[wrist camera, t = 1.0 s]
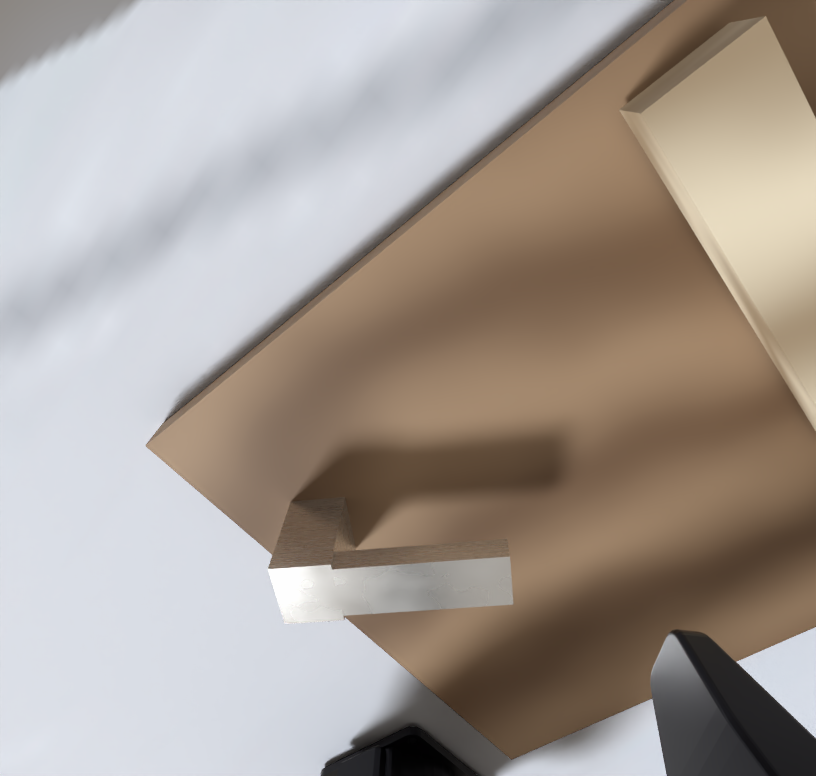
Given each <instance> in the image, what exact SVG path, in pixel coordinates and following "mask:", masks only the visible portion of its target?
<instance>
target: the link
mask: <svg viewBox="0 0 816 776" xmlns="http://www.w3.org/2000/svg"><path fill="white" fill-rule="evenodd" d="M619 111H620V112H621V114H622V115H623V117H624V119H625V120H626V122H627V124H628V125H629V127H630V129H631V130H632V132H633V133H634V135H635V137H636V138H637V140H638V142H639V143H640V145H641V147H642V148H643V150H644V151H645V153H646V155H647V156H648V158H649V160H650V161H651V163H652V164H653V166H654V168H655V169H656V171H657V173H658V174H659V176H660V178H661V179H662V181H663V182H664V184H665V186H666V187H667V189H668V191H669V192H670V194H671V196H672V197H673V199H674V200H675V202H676V204H677V205H678V207H679V209H680V210H681V212H682V214H683V215H684V217H685V218H686V220H687V222H688V223H689V225H690V227H691V228H692V230H693V232H694V233H695V235H696V236H697V238H698V240H699V241H700V243H701V245H702V246H703V248H704V250H705V251H706V253H707V254H708V256H709V258H710V259H711V261H712V263H713V264H714V266H715V268H716V269H717V271H718V272H719V274H720V276H721V277H722V279H723V281H724V282H725V284H726V286H727V287H728V289H729V290H730V292H731V294H732V295H733V297H734V299H735V300H736V302H737V303H738V305H739V307H740V308H741V310H742V312H743V313H744V315H745V317H746V318H747V320H748V321H749V323H750V325H751V326H752V328H753V330H754V331H755V333H756V335H757V336H758V338H759V339H760V341H761V343H762V344H763V346H764V348H765V349H766V351H767V353H768V354H769V356H770V357H771V359H772V361H773V362H774V364H775V366H776V367H777V369H778V371H779V372H780V374H781V375H782V377H783V379H784V380H785V382H786V384H787V385H788V387H789V389H790V390H791V392H792V393H793V395H794V397H795V398H796V400H797V402H798V403H799V405H800V407H801V408H802V410H803V411H804V413H805V415H806V416H807V418H808V420H809V421H810V423H811V425H812V426H813V428H814V429H815V431H816V118H815V116H814V114H813V112H812V110H811V108H810V106H809V103H808V101H807V99H806V97H805V95H804V93H803V91H802V89H801V87H800V85H799V83H798V81H797V79H796V77H795V75H794V73H793V71H792V69H791V67H790V65H789V62H788V60H787V58H786V56H785V54H784V52H783V50H782V48H781V46H780V44H779V42H778V40H777V38H776V36H775V34H774V32H773V30H772V28H771V26H770V24H769V22H768V19H767V17H766V16H763V17H758V18H752V19H747V20H741V21H736V22H731V23H728V24H727V25H726V26H725V27H723V28H722V29H721V30H719V31H718V32H717V33H716V34H714V35H713V36H712V37H711V38H709V39H708V40H707V41H706V42H704V43H703V44H702V45H700V46H699V47H698V48H697V49H695V50H694V51H693V52H692V53H690V54H689V55H688V56H687V57H685V58H684V59H683V60H681V61H680V62H679V63H678V64H676V65H675V66H674V67H673V68H671V69H670V70H669V71H668V72H666V73H665V74H664V75H663V76H661V77H660V78H659V79H657V80H656V81H655V82H654V83H652V84H651V85H650V86H649V87H647V88H646V89H645V90H644V91H642V92H641V93H640V94H638V95H637V96H636V97H635V98H633V99H632V100H631V101H630V102H628V103H627V104H626V105H625V106H623V107H622V108H621V109H619Z"/></svg>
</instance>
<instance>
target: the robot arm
mask: <svg viewBox="0 0 816 776" xmlns="http://www.w3.org/2000/svg"><path fill="white" fill-rule="evenodd" d="M650 686H651V693H652V698H653V704H654V709H655V715H656V720H657V725H658V731H659V736H660V742H661V747H662V752H663V758H664V763H665V768H666V774H667V776H816V738H815V737H814V736H813V735H812V734H811V733H810V732H809V731H808V730H807V729H805V728H804V727H803V726H802V725H801V724H800V723H799V722H798V721H797V720H796V719H795V718H794V717H793V716H792V715H791V714H790V713H789V712H788V711H787V710H786V709H785V708H784V707H782V706H781V705H780V704H779V703H778V702H777V701H776V700H775V699H774V698H773V697H772V696H771V695H770V694H769V693H768V692H767V691H766V690H765V689H764V688H763V687H762V686H761V685H759V684H758V683H757V682H756V681H755V680H754V679H753V678H752V677H751V676H750V675H749V674H748V673H747V672H746V671H745V670H744V669H743V668H742V667H741V666H740V665H739V664H738V663H736V662H735V661H734V660H733V659H732V658H731V657H730V656H729V655H728V654H727V653H726V652H725V651H724V650H723V649H722V648H721V647H720V646H719V645H718V644H717V643H716V642H715V641H713V640H712V639H711V638H710V637H709V636H708V635H706V634H705V633H702V632H698V631H689V630H680V629H674V630H672V631H671V632H669V633H668V635H667V637H666V639H665V641H664V643H663V646H662V648H661V650H660V652H659V654H658V657H657V659H656V661H655V663H654V666H653V668H652V671H651V677H650ZM321 776H478V775H476V774H475V773H474V772H473V771H471V770H470V769H469V768H468V767H467V766H465V765H464V764H463V763H462V762H460V761H459V760H458V759H457V758H456V757H454V756H453V755H452V754H451V753H449V752H448V751H447V750H446V749H445V748H443V747H442V746H441V745H440V744H438V743H437V742H436V741H435V740H434V739H432V738H431V737H430V736H429V735H427V734H426V733H425V732H424V731H423V730H421V729H420V728H418V727H407V728H405V729H403V730H401V731H399V732H397V733H395V734H393V735H391V736H389V737H387V738H385V739H382V740H380V741H378V742H376V743H374V744H372V745H370V746H368V747H366V748H364V749H362V750H360V751H358V752H356V753H354V754H352V755H350V756H348V757H346V758H344V759H342V760H340V761H337V762H335V763H333V764H331V765H329V766H327V767H325V768H324V769H322V771H321Z"/></svg>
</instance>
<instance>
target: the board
mask: <svg viewBox="0 0 816 776" xmlns="http://www.w3.org/2000/svg"><path fill="white" fill-rule="evenodd" d="M763 16H766V17H767V19H768V22H769V24H770V26H771V28H772V30H773V32H774V34H775V36H776V38H777V40H778V42H779V44H780V46H781V48H782V50H783V52H784V54H785V56H786V58H787V60H788V62H789V65H790V67H791V69H792V71H793V73H794V75H795V77H796V79H797V81H798V83H799V85H800V87H801V89H802V91H803V93H804V95H805V97H806V99H807V101H808V103H809V106H810V108H811V110H812V112H813V114H814V116H815V118H816V0H674V1H672V2H671V3H670V4H669V5H668V6H666V7H665V8H664V9H663V10H662V11H660V12H659V13H658V14H657V15H656V16H654V17H653V18H652V19H651V20H650V21H648V22H647V23H646V24H645V25H643V26H642V27H641V28H640V29H639V30H637V31H636V32H635V33H634V34H633V35H631V36H630V37H629V38H628V39H627V40H625V41H624V42H623V43H622V44H621V45H619V46H618V47H617V48H616V49H614V50H613V51H612V52H611V53H610V54H608V55H607V56H606V57H605V58H604V59H602V60H601V61H600V62H599V63H598V64H596V65H595V66H594V67H593V68H592V69H590V70H589V71H588V72H587V73H585V74H584V75H583V76H582V77H581V78H579V79H578V80H577V81H576V82H575V83H573V84H572V85H571V86H570V87H569V88H567V89H566V90H565V91H564V92H563V93H561V94H560V95H559V96H558V97H557V98H555V99H554V100H553V101H552V102H550V103H549V104H548V105H547V106H546V107H544V108H543V109H542V110H541V111H540V112H538V113H537V114H536V115H535V116H534V117H532V118H531V119H530V120H529V121H528V122H526V123H525V124H524V125H523V126H521V127H520V128H519V129H518V130H517V131H515V132H514V133H513V134H512V135H511V136H509V137H508V138H507V139H506V140H505V141H503V142H502V143H501V144H500V145H499V146H497V147H496V148H495V149H494V150H493V151H491V152H490V153H489V154H488V155H486V156H485V157H484V158H483V159H482V160H480V161H479V162H478V163H477V164H476V165H474V166H473V167H472V168H471V169H470V170H468V171H467V172H466V173H465V174H464V175H462V176H461V177H460V178H459V179H457V180H456V181H455V182H454V183H453V184H451V185H450V186H449V187H448V188H447V189H445V190H444V191H443V192H442V193H441V194H439V195H438V196H437V197H436V198H435V199H433V200H432V201H431V202H430V203H429V204H427V205H426V206H425V207H424V208H422V209H421V210H420V211H419V212H418V213H416V214H415V215H414V216H413V217H412V218H410V219H409V220H408V221H407V222H406V223H404V224H403V225H402V226H401V227H400V228H398V229H397V230H396V231H395V232H393V233H392V234H391V235H390V236H389V237H387V238H386V239H385V240H384V241H383V242H381V243H380V244H379V245H378V246H377V247H375V248H374V249H373V250H372V251H371V252H369V253H368V254H367V255H366V256H365V257H363V258H362V259H361V260H360V261H358V262H357V263H356V264H355V265H354V266H352V267H351V268H350V269H349V270H348V271H346V272H345V273H344V274H343V275H342V276H340V277H339V278H338V279H337V280H336V281H334V282H333V283H332V284H331V285H329V286H328V287H327V288H326V289H325V290H323V291H322V292H321V293H320V294H319V295H317V296H316V297H315V298H314V299H313V300H311V301H310V302H309V303H308V304H307V305H305V306H304V307H303V308H302V309H300V310H299V311H298V312H297V313H296V314H294V315H293V316H292V317H291V318H290V319H288V320H287V321H286V322H285V323H284V324H282V325H281V326H280V327H279V328H278V329H276V330H275V331H274V332H273V333H272V334H270V335H269V336H268V337H267V338H265V339H264V340H263V341H262V342H261V343H259V344H258V345H257V346H256V347H255V348H253V349H252V350H251V351H250V352H249V353H247V354H246V355H245V356H244V357H243V358H241V359H240V360H239V361H238V362H236V363H235V364H234V365H233V366H232V367H230V368H229V369H228V370H227V371H226V372H224V373H223V374H222V375H221V376H220V377H218V378H217V379H216V380H215V381H214V382H212V383H211V384H210V385H209V386H208V387H206V388H205V389H204V390H203V391H201V392H200V393H199V394H198V395H197V396H195V397H194V398H193V399H192V400H191V401H189V402H188V403H187V404H186V405H185V406H183V407H182V408H181V409H180V410H179V411H177V412H176V413H175V414H174V415H172V416H171V417H170V418H169V419H168V420H166V421H165V422H164V423H163V424H162V425H161V426H160V428H159V429H158V430H157V431H156V433H155V434H154V435H153V437H152V438H151V439H150V440H149V442H148V443H147V444H146V447H147V448H148V449H150V450H151V451H152V452H153V453H154V454H155V455H157V456H158V457H159V458H160V459H161V460H162V461H164V462H165V463H166V464H167V465H168V466H169V467H171V468H172V469H173V470H174V471H175V472H176V473H178V474H179V475H180V476H181V477H182V478H183V479H185V480H186V481H187V482H188V483H189V484H190V485H192V486H193V487H194V488H195V489H196V490H197V491H199V492H200V493H201V494H202V495H203V496H204V497H206V498H207V499H208V500H209V501H210V502H211V503H213V504H214V505H215V506H216V507H217V508H218V509H220V510H221V511H222V512H223V513H224V514H225V515H227V516H228V517H229V518H230V519H231V520H232V521H234V522H235V523H236V524H237V525H238V526H239V527H241V528H242V529H243V530H244V531H245V532H246V533H248V534H249V535H250V536H251V537H252V538H253V539H255V540H256V541H257V542H258V543H259V544H260V545H262V546H263V547H264V548H265V549H266V550H267V551H269V552H270V553H271V554H272V555H273V553H274V550H275V547H276V544H277V541H278V538H279V535H280V532H281V529H282V526H283V523H284V520H285V517H286V514H287V511H288V508H289V505H290V502H292V501H304V500H316V499H328V498H340V497H345V500H346V505H347V509H348V514H349V519H350V523H351V528H352V532H353V537H354V541H355V546H356V550H364V549H377V548H391V547H404V546H417V545H430V544H444V543H457V542H470V541H483V540H496V539H507V541H508V547H509V553H510V563H511V577H512V591H513V605H499V606H484V607H469V608H454V609H439V610H423V611H408V612H393V613H378V614H362V615H347V616H345V617H346V618H347V619H348V620H349V621H350V622H351V623H353V624H354V625H355V626H356V627H357V628H358V629H360V630H361V631H362V632H363V633H364V634H365V635H367V636H368V637H369V638H370V639H371V640H372V641H374V642H375V643H376V644H377V645H378V646H379V647H381V648H382V649H383V650H384V651H385V652H386V653H388V654H389V655H390V656H391V657H392V658H393V659H395V660H396V661H397V662H398V663H399V664H400V665H402V666H403V667H404V668H405V669H406V670H407V671H409V672H410V673H411V674H412V675H413V676H414V677H416V678H417V679H418V680H419V681H420V682H421V683H423V684H424V685H425V686H426V687H427V688H428V689H430V690H431V691H432V692H433V693H434V694H435V695H437V696H438V697H439V698H440V699H441V700H442V701H444V702H445V703H446V704H447V705H448V706H449V707H451V708H452V709H453V710H454V711H455V712H456V713H458V714H459V715H460V716H461V717H462V718H463V719H465V720H466V721H467V722H468V723H469V724H470V725H472V726H473V727H474V728H475V729H476V730H477V731H479V732H480V733H481V734H482V735H483V736H484V737H486V738H487V739H488V740H489V741H490V742H491V743H493V744H494V745H495V746H496V747H497V748H498V749H500V750H501V751H502V752H503V753H504V754H505V755H507V756H508V757H509V758H510V759H511V760H512V759H514V758H517V757H519V756H521V755H523V754H526V753H528V752H530V751H533V750H535V749H537V748H539V747H542V746H544V745H546V744H549V743H551V742H553V741H556V740H558V739H560V738H562V737H565V736H567V735H569V734H572V733H574V732H576V731H578V730H581V729H583V728H585V727H588V726H590V725H592V724H594V723H597V722H599V721H601V720H604V719H606V718H608V717H610V716H613V715H615V714H617V713H620V712H622V711H624V710H627V709H629V708H631V707H633V706H636V705H638V704H640V703H643V702H645V701H647V700H649V699H652V693H651V686H650V677H651V671H652V668H653V666H654V663H655V661H656V659H657V657H658V654H659V652H660V650H661V648H662V646H663V643H664V641H665V639H666V637H667V635H668V633H669V632H671V631H672V630H674V629H680V630H689V631H698V632H702V633H705V634H706V635H708V636H709V637H710V638H711V639H712V640H713V641H715V642H716V643H717V644H718V645H719V646H720V647H721V648H722V649H723V650H724V651H725V652H726V653H727V654H728V655H729V656H730V657H731V658H732V659H733V660H734V661H735V662H736V661H739V660H741V659H743V658H746V657H748V656H750V655H752V654H755V653H757V652H759V651H762V650H764V649H766V648H769V647H771V646H773V645H775V644H778V643H780V642H782V641H785V640H787V639H789V638H791V637H794V636H796V635H798V634H801V633H803V632H805V631H807V630H810V629H812V628H814V627H816V431H815V429H814V428H813V426H812V425H811V423H810V421H809V420H808V418H807V416H806V415H805V413H804V411H803V410H802V408H801V407H800V405H799V403H798V402H797V400H796V398H795V397H794V395H793V393H792V392H791V390H790V389H789V387H788V385H787V384H786V382H785V380H784V379H783V377H782V375H781V374H780V372H779V371H778V369H777V367H776V366H775V364H774V362H773V361H772V359H771V357H770V356H769V354H768V353H767V351H766V349H765V348H764V346H763V344H762V343H761V341H760V339H759V338H758V336H757V335H756V333H755V331H754V330H753V328H752V326H751V325H750V323H749V321H748V320H747V318H746V317H745V315H744V313H743V312H742V310H741V308H740V307H739V305H738V303H737V302H736V300H735V299H734V297H733V295H732V294H731V292H730V290H729V289H728V287H727V286H726V284H725V282H724V281H723V279H722V277H721V276H720V274H719V272H718V271H717V269H716V268H715V266H714V264H713V263H712V261H711V259H710V258H709V256H708V254H707V253H706V251H705V250H704V248H703V246H702V245H701V243H700V241H699V240H698V238H697V236H696V235H695V233H694V232H693V230H692V228H691V227H690V225H689V223H688V222H687V220H686V218H685V217H684V215H683V214H682V212H681V210H680V209H679V207H678V205H677V204H676V202H675V200H674V199H673V197H672V196H671V194H670V192H669V191H668V189H667V187H666V186H665V184H664V182H663V181H662V179H661V178H660V176H659V174H658V173H657V171H656V169H655V168H654V166H653V164H652V163H651V161H650V160H649V158H648V156H647V155H646V153H645V151H644V150H643V148H642V147H641V145H640V143H639V142H638V140H637V138H636V137H635V135H634V133H633V132H632V130H631V129H630V127H629V125H628V124H627V122H626V120H625V119H624V117H623V115H622V114H621V112H620V111H619V109H621V108H622V107H623V106H625V105H626V104H627V103H628V102H630V101H631V100H632V99H633V98H635V97H636V96H637V95H638V94H640V93H641V92H642V91H644V90H645V89H646V88H647V87H649V86H650V85H651V84H652V83H654V82H655V81H656V80H657V79H659V78H660V77H661V76H663V75H664V74H665V73H666V72H668V71H669V70H670V69H671V68H673V67H674V66H675V65H676V64H678V63H679V62H680V61H681V60H683V59H684V58H685V57H687V56H688V55H689V54H690V53H692V52H693V51H694V50H695V49H697V48H698V47H699V46H700V45H702V44H703V43H704V42H706V41H707V40H708V39H709V38H711V37H712V36H713V35H714V34H716V33H717V32H718V31H719V30H721V29H722V28H723V27H725V26H726V25H727V24H728V23H731V22H736V21H741V20H747V19H752V18H758V17H763Z"/></svg>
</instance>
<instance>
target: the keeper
mask: <svg viewBox="0 0 816 776" xmlns="http://www.w3.org/2000/svg"><path fill="white" fill-rule="evenodd" d="M268 571H269V575H270V578H271V581H272V584H273V588H274V591H275V594H276V597H277V600H278V604H279V607H280V610H281V613H282V617H283V620H284V623H285V624H293V623H308V622H324V621H339V620H344V619H345V616H347V615H362V614H378V613H393V612H408V611H423V610H439V609H454V608H469V607H484V606H499V605H513V591H512V577H511V563H510V553H509V547H508V541H507V539H496V540H483V541H470V542H457V543H444V544H430V545H417V546H404V547H391V548H377V549H364V550H356V546H355V541H354V537H353V532H352V528H351V523H350V519H349V514H348V509H347V505H346V500H345V497H340V498H328V499H316V500H304V501H292V502H290V505H289V508H288V511H287V514H286V517H285V520H284V523H283V526H282V529H281V532H280V535H279V538H278V541H277V544H276V547H275V550H274V553H273V555H272V558H271V561H270V564H269V567H268Z"/></svg>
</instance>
